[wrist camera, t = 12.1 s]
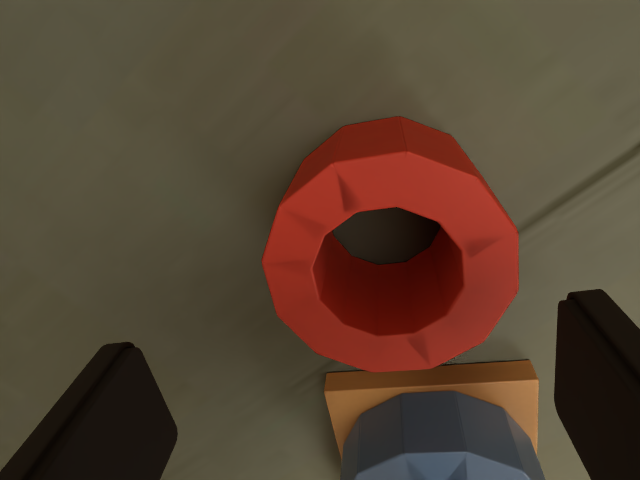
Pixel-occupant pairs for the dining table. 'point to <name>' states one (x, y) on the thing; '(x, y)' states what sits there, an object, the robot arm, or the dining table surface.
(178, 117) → the dining table surface
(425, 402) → the blue ring
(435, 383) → the ring stand
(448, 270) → the red ring
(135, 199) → the dining table surface
